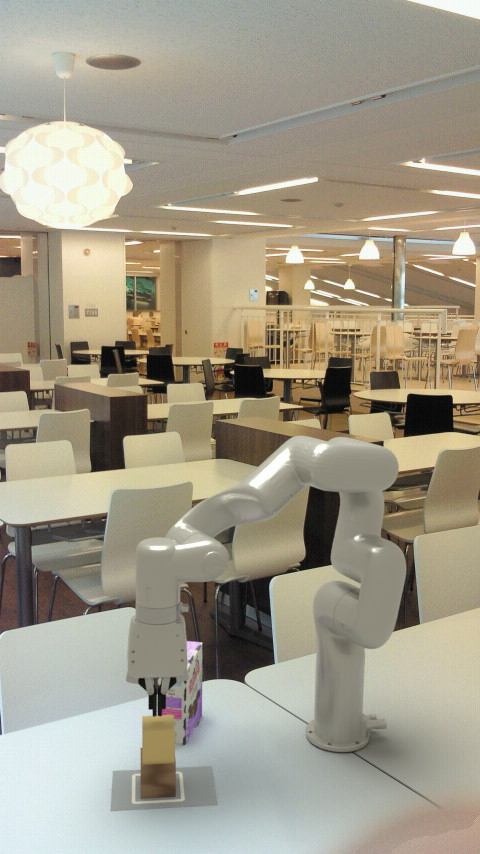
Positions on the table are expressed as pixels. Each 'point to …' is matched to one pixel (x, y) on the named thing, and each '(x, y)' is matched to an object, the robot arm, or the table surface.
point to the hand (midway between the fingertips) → (157, 712)
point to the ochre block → (158, 739)
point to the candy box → (186, 696)
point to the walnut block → (158, 780)
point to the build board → (190, 792)
